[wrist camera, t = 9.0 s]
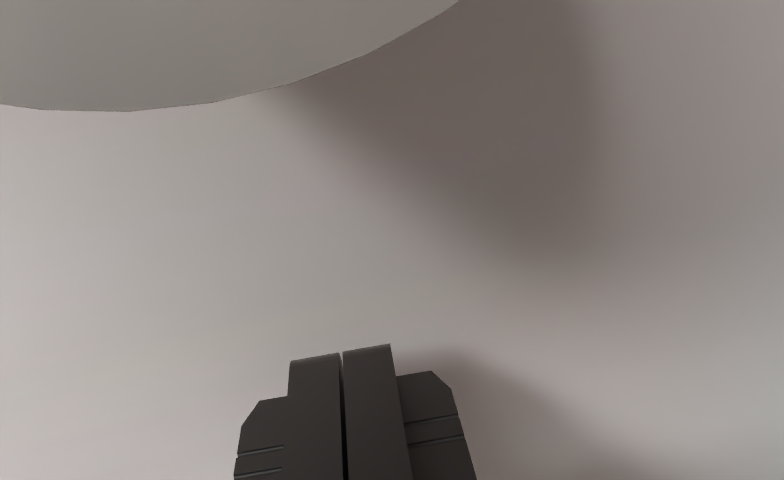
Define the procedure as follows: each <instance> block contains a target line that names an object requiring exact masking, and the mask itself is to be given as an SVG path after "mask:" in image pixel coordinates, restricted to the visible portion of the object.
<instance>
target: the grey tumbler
mask: <svg viewBox="0 0 784 480" xmlns="http://www.w3.org/2000/svg"><path fill="white" fill-rule="evenodd" d="M458 1H460V0H0V104H5V105H12V106H19V107H26V108H33V109H39V110H75V111H122V112H130V111H139V110H148V109H158V108H167V107H177V106H186V105H195V104H205V103H213V102H217V101H221V100H225V99H229V98H234V97H238V96H242V95H246V94H250V93H254V92H258V91H263V90H267V89H271V88H275V87H279V86H283V85H287V84H291V83H294V82H297V81H299V80H302V79H305V78H307V77H310V76H312V75H315V74H317V73H320V72H323V71H325V70H328V69H330V68H333V67H335V66H338V65H341V64H343V63H346V62H348V61H351V60H353V59H356V58H359V57H361V56H364V55H366V54H369V53H371V52H373V51H374V50H376V49H378V48H380V47H382V46H383V45H385V44H387V43H389V42H391V41H393V40H394V39H396V38H398V37H400V36H402V35H403V34H405V33H407V32H409V31H411V30H412V29H414V28H416V27H418V26H420V25H422V24H423V23H425V22H427V21H429V20H431V19H432V18H434V17H436V16H438V15H440V14H442V13H443V12H445V11H446V10H447V9H449V8H450V7H451V6H453V5H454V4H455V3H457V2H458Z"/></svg>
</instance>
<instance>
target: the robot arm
mask: <svg viewBox="0 0 784 480" xmlns="http://www.w3.org/2000/svg"><path fill="white" fill-rule="evenodd" d="M237 454H238V458H236V463H235V469H234V480H477V478H476V475H475V471H474V468H473V464H472V461H471V457H470V454H469V450H468V447H467V443H466V440H465V438H464V433H463V429H462V426H461V422H460V419H459V417H458V412H457V409H456V405H455V402H454V398H453V395H452V391H451V389H450V388H449V387H448V386H447V385H446V384H445V383H444V382H443V381H442V380H441V379H439V378H438V377H437V376H436V375H435V374H434V373H433V372H432V371H426V372H420V373H415V374H409V375H403V376H397V377H396V375H395V369H394V363H393V358H392V352H391V346H390V344H384V345H379V346H373V347H367V348H361V349H356V350H350V351H344V352H343V364H342V360H341V356H340V354H339V353H334V354H328V355H322V356H316V357H311V358H305V359H299V360H293V361H291V362H290V368H289V382H288V395H287V396H284V397H279V398H273V399H267V400H262V401H259V402H258V404H257V405H256V407H255V408H254V409H253V411H252V412H251V414H250V415H249V416H248V418H247V419H246V421H245V422H244V423H243V425H242V427H241V433H240V439H239V445H238V451H237Z"/></svg>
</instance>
